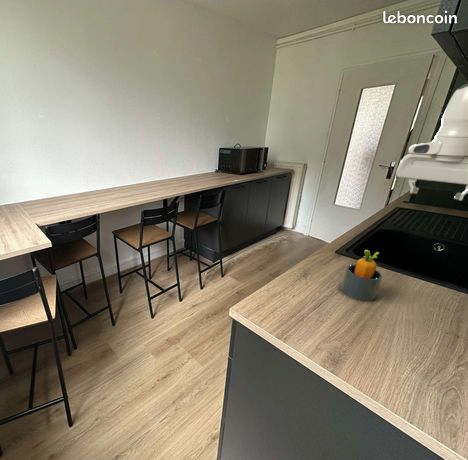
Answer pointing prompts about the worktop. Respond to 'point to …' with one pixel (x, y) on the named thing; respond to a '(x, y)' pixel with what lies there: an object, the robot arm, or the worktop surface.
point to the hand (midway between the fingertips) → (434, 196)
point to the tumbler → (360, 285)
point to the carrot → (366, 265)
